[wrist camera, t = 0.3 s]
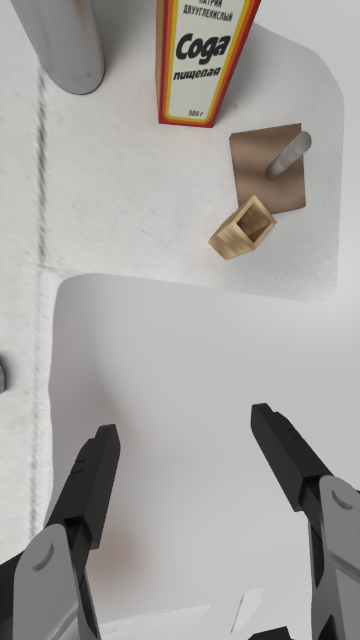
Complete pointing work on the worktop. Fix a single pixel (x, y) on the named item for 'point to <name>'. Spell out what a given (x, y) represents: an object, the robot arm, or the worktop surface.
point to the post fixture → (271, 166)
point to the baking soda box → (198, 56)
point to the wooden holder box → (243, 229)
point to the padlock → (1, 380)
